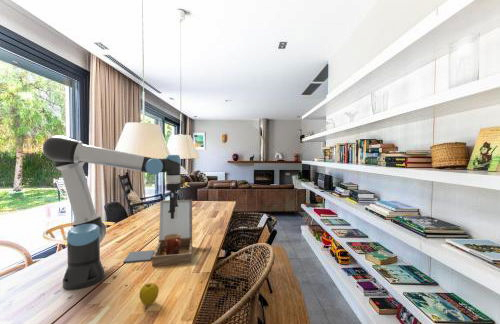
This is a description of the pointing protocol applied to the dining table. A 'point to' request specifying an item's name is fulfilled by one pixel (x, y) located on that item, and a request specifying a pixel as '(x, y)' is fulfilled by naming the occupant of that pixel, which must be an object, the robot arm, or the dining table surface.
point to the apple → (149, 293)
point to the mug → (172, 244)
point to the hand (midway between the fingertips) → (173, 221)
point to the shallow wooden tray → (172, 258)
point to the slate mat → (139, 256)
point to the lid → (181, 223)
